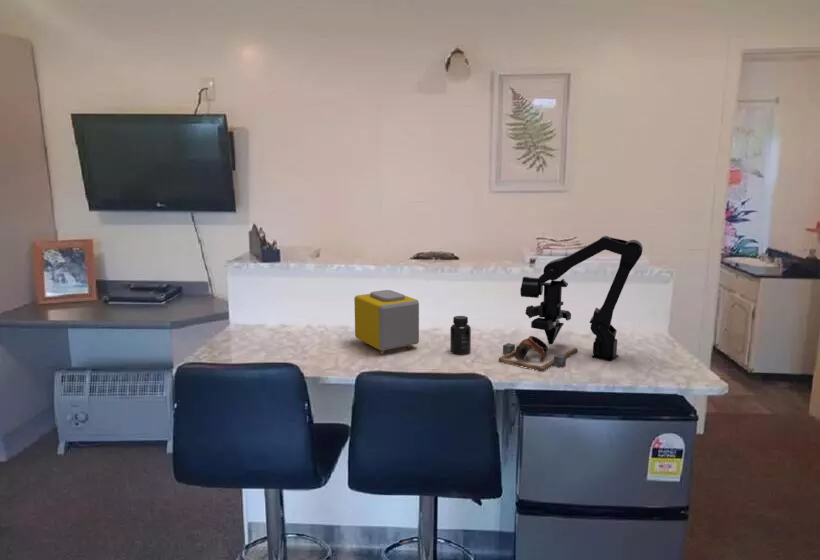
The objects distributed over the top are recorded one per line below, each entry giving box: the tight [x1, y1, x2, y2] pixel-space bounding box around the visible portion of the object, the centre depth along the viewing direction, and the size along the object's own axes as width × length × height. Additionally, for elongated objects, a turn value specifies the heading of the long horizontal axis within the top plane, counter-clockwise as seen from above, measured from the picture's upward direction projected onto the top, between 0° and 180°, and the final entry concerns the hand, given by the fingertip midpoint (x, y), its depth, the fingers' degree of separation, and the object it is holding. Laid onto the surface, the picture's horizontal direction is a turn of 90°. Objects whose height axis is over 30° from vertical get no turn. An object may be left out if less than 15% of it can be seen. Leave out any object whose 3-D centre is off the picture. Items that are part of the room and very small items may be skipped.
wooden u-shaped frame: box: [498, 342, 578, 372], centre depth 196 cm, size 21×25×3 cm
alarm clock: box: [353, 289, 420, 354], centre depth 207 cm, size 20×16×18 cm
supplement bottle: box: [449, 315, 472, 356], centre depth 200 cm, size 7×7×12 cm
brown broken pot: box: [514, 335, 549, 362], centre depth 193 cm, size 12×10×8 cm
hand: (550, 344), depth 202 cm, fingers closed
